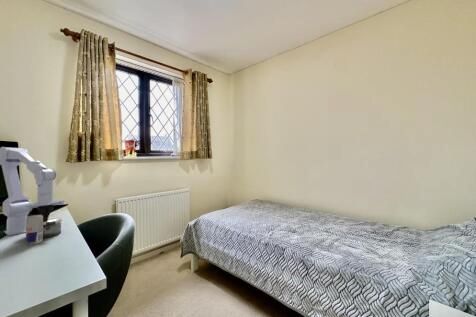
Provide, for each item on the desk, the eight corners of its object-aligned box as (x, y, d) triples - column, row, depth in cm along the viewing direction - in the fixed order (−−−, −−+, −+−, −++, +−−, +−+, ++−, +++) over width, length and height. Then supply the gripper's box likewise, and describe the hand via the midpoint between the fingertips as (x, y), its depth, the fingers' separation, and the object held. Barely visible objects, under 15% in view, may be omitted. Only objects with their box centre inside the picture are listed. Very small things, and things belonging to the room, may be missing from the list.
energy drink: (23, 244, 96) (24, 216, 96) (39, 240, 101) (39, 214, 101) (29, 246, 93) (29, 218, 94) (44, 242, 98) (45, 215, 98)
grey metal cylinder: (22, 236, 105) (22, 226, 106) (55, 229, 116) (55, 220, 116) (30, 241, 98) (30, 230, 98) (65, 233, 109) (65, 224, 109)
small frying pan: (21, 226, 106) (21, 223, 106) (55, 220, 117) (55, 217, 117) (33, 228, 96) (33, 225, 96) (70, 221, 107) (70, 219, 107)
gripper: (27, 196, 99) (27, 225, 99) (66, 192, 111) (66, 218, 111) (23, 195, 103) (23, 223, 103) (60, 191, 115) (60, 217, 115)
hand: (45, 221), depth 107 cm, fingers closed, pressing on small frying pan
